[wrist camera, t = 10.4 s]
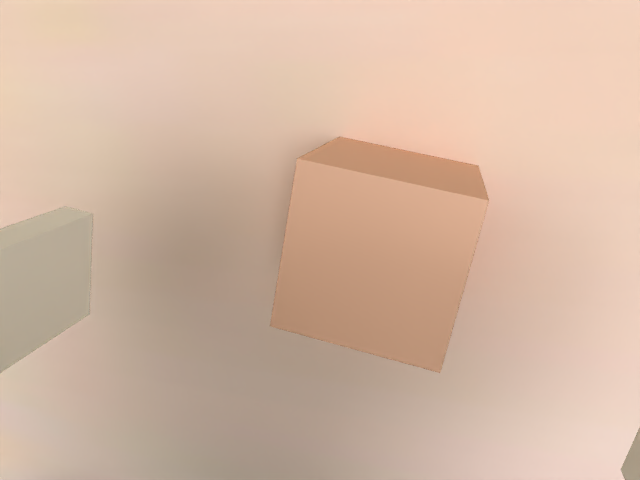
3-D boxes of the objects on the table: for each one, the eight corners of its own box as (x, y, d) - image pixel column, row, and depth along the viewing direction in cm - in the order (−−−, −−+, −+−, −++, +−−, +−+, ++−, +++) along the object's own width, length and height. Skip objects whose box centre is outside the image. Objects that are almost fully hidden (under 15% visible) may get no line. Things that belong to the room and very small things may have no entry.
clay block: (442, 294, 24) (440, 372, 18) (316, 262, 25) (270, 326, 19) (478, 165, 23) (489, 200, 16) (339, 136, 24) (296, 158, 17)
